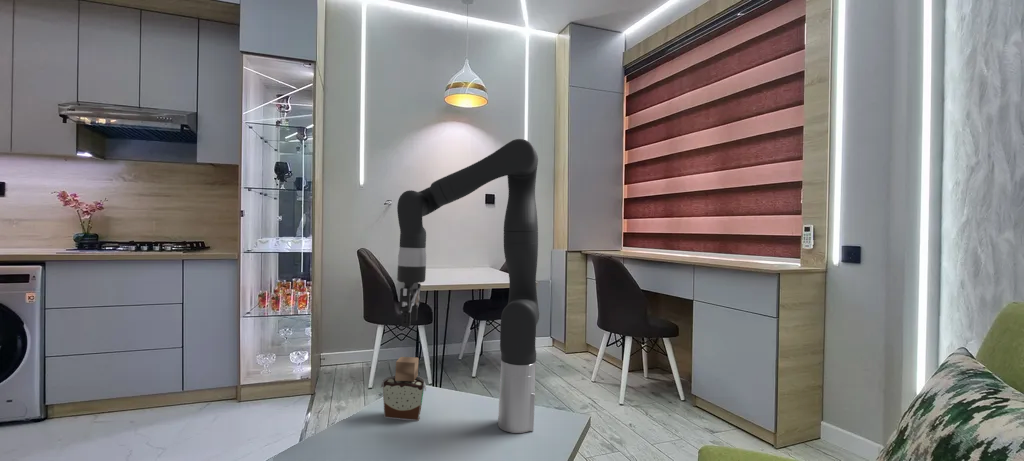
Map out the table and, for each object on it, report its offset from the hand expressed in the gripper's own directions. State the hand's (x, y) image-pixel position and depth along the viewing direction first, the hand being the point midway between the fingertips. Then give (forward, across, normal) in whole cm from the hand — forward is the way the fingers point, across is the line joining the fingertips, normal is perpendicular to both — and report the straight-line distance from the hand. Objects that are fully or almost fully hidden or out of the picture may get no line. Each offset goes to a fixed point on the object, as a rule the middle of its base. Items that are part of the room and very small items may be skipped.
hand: (409, 323), depth 123 cm
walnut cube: (+15, 0, 0) cm, 15 cm away
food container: (+25, 0, 0) cm, 25 cm away
